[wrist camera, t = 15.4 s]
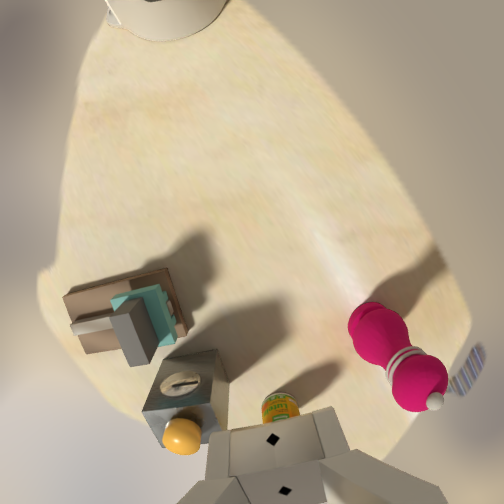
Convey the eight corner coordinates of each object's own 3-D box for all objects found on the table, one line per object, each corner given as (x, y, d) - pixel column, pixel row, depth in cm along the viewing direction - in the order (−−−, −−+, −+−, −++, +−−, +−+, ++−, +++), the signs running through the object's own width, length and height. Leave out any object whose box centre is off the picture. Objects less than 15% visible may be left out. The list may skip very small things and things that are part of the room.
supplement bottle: (285, 385, 44) (294, 429, 35) (303, 407, 45) (314, 450, 36) (254, 402, 45) (257, 446, 35) (273, 422, 46) (279, 466, 36)
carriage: (120, 290, 39) (93, 316, 30) (162, 280, 38) (142, 304, 30) (138, 339, 40) (117, 372, 32) (180, 331, 40) (166, 365, 32)
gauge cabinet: (161, 355, 42) (139, 407, 31) (215, 345, 42) (208, 398, 31) (177, 392, 44) (162, 448, 32) (229, 383, 44) (226, 440, 32)
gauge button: (160, 420, 30) (156, 432, 28) (194, 416, 30) (192, 428, 28) (173, 444, 31) (170, 456, 29) (206, 441, 31) (205, 453, 29)
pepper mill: (354, 293, 41) (428, 371, 22) (398, 303, 42) (481, 374, 22) (337, 341, 43) (391, 437, 23) (380, 348, 43) (446, 434, 24)
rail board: (67, 293, 40) (57, 300, 37) (167, 267, 40) (161, 274, 37) (90, 349, 42) (82, 359, 39) (188, 331, 42) (184, 341, 39)
